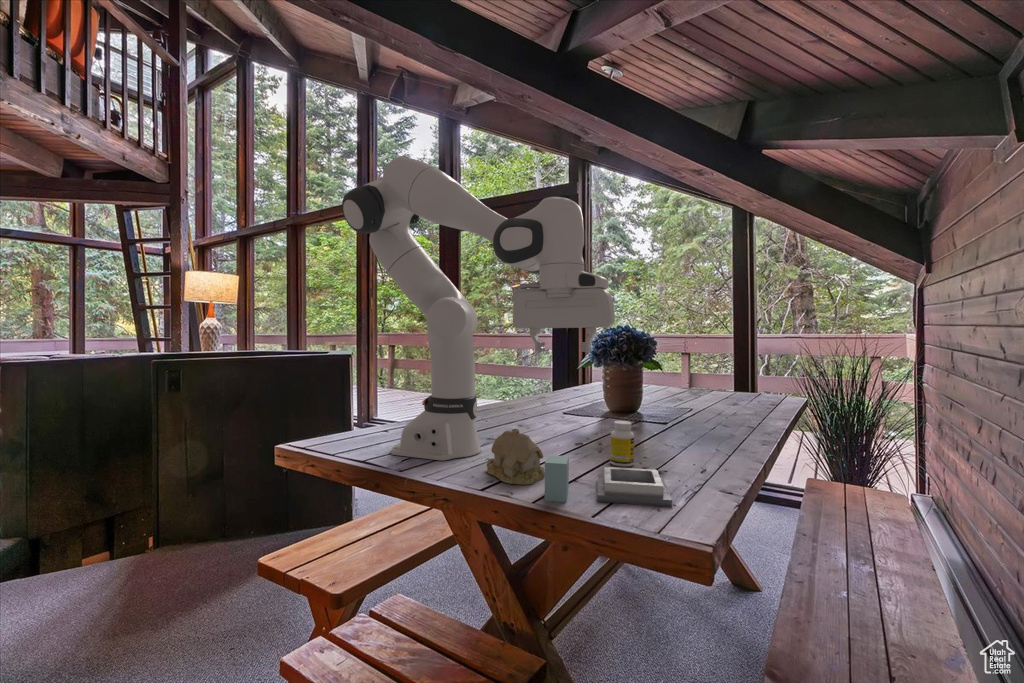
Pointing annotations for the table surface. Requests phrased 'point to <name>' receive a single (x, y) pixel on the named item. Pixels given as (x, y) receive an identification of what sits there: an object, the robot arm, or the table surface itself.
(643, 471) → the collar socket
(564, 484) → the block
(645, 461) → the table surface
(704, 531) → the table surface
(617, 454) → the supplement bottle
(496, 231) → the robot arm
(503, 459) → the ceramic model
